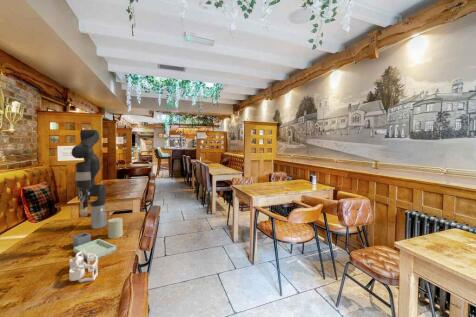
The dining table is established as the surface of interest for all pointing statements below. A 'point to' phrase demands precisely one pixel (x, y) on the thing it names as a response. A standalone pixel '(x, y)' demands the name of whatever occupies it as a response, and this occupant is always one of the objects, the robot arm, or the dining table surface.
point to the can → (115, 228)
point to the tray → (95, 248)
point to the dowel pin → (83, 209)
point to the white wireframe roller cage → (82, 267)
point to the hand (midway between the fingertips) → (83, 206)
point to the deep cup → (81, 239)
